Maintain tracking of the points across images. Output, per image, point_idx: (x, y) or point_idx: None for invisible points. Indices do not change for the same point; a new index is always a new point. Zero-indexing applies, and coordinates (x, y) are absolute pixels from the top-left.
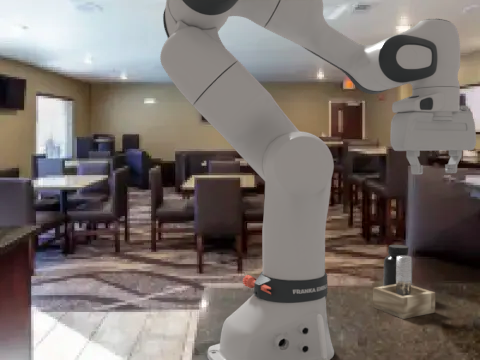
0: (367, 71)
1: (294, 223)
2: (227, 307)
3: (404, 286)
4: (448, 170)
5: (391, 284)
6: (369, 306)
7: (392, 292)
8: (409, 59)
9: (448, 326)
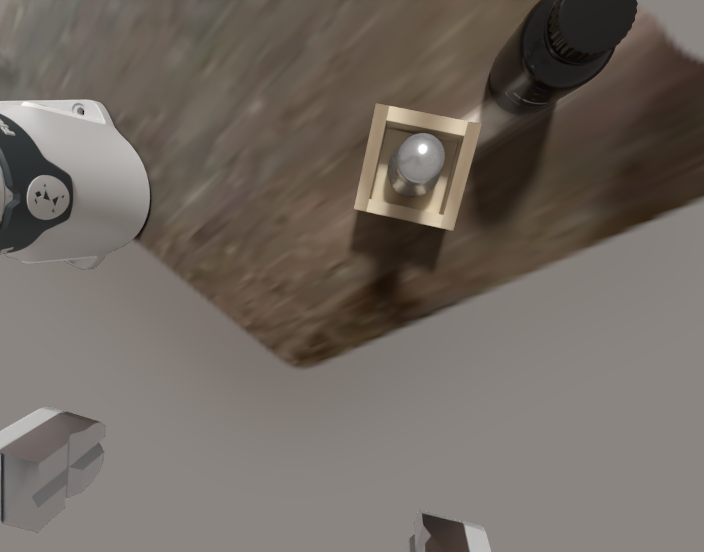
0: None
1: None
2: None
3: (401, 179)
4: (419, 548)
5: (497, 74)
6: None
7: (375, 163)
8: None
9: (386, 287)
